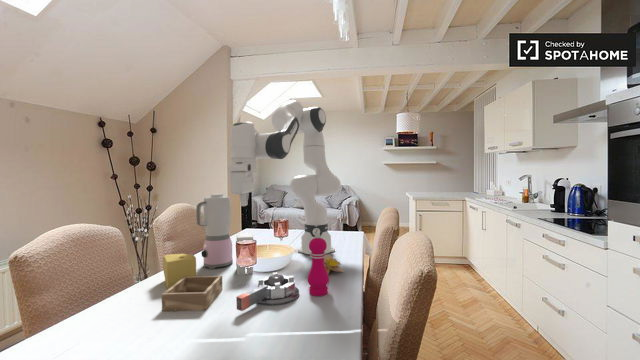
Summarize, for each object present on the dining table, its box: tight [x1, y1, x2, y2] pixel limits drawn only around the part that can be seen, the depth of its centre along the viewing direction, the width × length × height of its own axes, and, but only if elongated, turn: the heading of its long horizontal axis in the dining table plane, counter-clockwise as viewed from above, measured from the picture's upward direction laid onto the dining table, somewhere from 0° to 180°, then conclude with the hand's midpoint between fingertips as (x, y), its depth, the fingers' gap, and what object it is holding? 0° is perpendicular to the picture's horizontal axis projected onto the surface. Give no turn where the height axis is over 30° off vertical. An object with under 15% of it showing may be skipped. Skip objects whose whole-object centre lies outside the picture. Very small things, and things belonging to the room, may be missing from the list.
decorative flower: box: [324, 254, 345, 275], centre depth 116 cm, size 15×11×10 cm
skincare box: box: [236, 232, 254, 276], centre depth 118 cm, size 8×7×16 cm
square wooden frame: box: [161, 275, 223, 312], centre depth 92 cm, size 15×13×5 cm
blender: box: [195, 193, 233, 270], centre depth 126 cm, size 16×12×32 cm
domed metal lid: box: [256, 274, 300, 306], centre depth 95 cm, size 15×15×6 cm
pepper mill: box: [307, 233, 330, 297], centre depth 96 cm, size 7×7×20 cm
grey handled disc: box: [235, 271, 296, 312], centre depth 90 cm, size 22×12×4 cm, turn 148°
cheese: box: [162, 253, 197, 290], centre depth 108 cm, size 10×11×10 cm
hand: (244, 205), depth 102 cm, fingers closed
